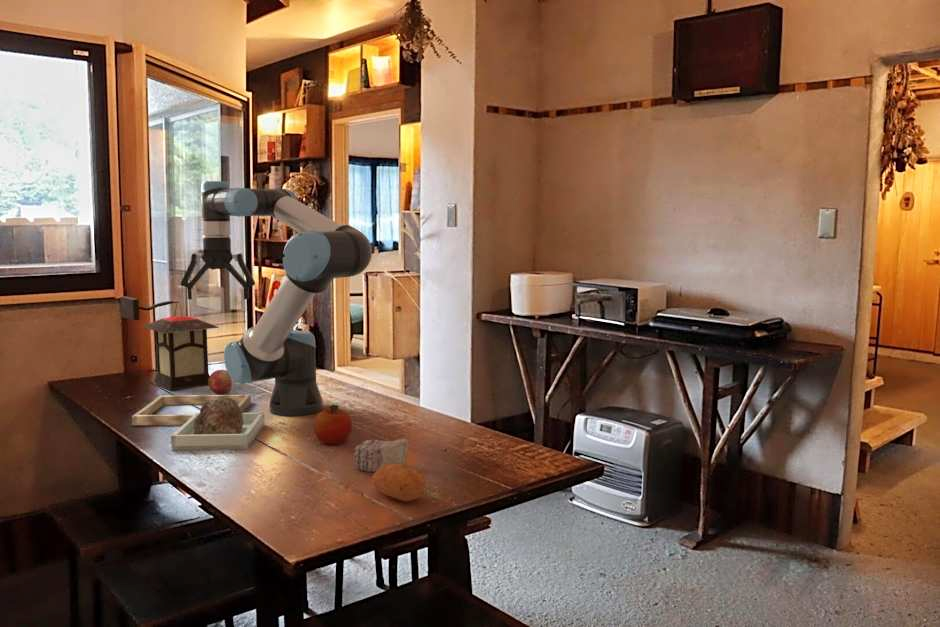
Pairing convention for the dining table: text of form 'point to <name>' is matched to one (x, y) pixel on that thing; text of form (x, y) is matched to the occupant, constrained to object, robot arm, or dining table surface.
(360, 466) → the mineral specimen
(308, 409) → the robot arm
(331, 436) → the fruit
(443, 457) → the dining table surface
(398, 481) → the potato
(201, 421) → the rock
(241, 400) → the pine frame
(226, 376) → the fruit
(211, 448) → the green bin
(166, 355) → the lantern
